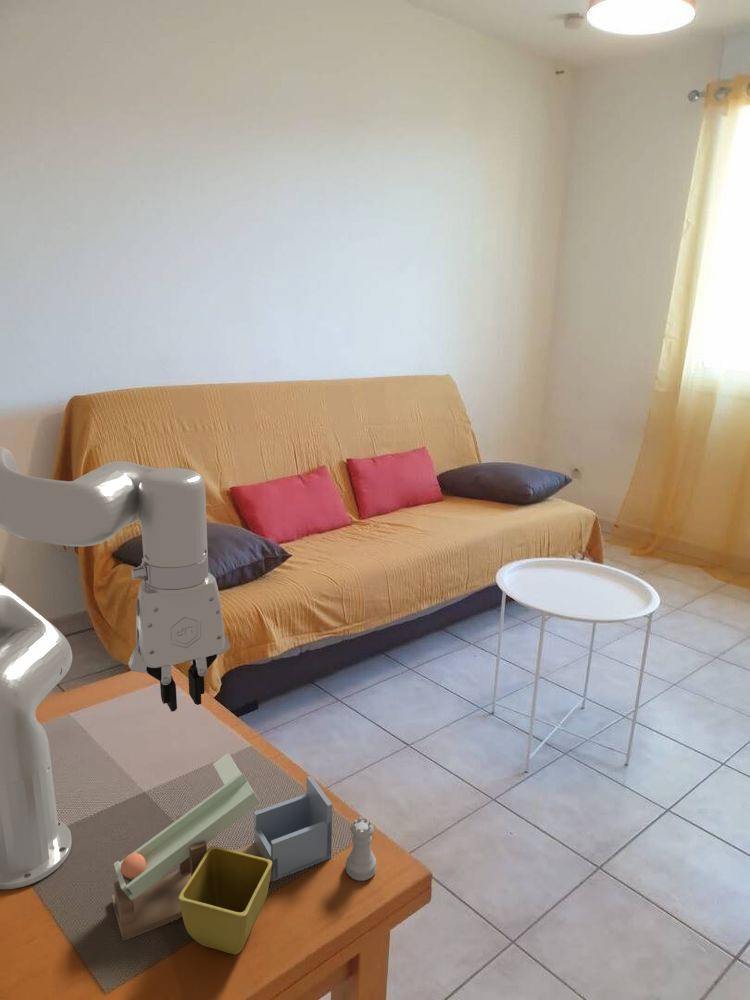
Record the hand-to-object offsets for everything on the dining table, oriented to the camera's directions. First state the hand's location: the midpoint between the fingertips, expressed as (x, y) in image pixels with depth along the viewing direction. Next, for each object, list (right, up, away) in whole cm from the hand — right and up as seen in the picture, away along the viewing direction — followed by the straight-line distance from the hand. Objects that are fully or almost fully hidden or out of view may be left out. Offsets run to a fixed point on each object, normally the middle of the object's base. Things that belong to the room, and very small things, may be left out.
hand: (183, 701), depth 92 cm
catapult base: (0, -27, +5) cm, 27 cm away
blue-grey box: (+13, -25, +12) cm, 31 cm away
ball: (-6, -21, -1) cm, 22 cm away
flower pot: (+6, -29, -2) cm, 30 cm away
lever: (-1, -18, +5) cm, 19 cm away
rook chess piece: (+23, -27, +9) cm, 36 cm away
